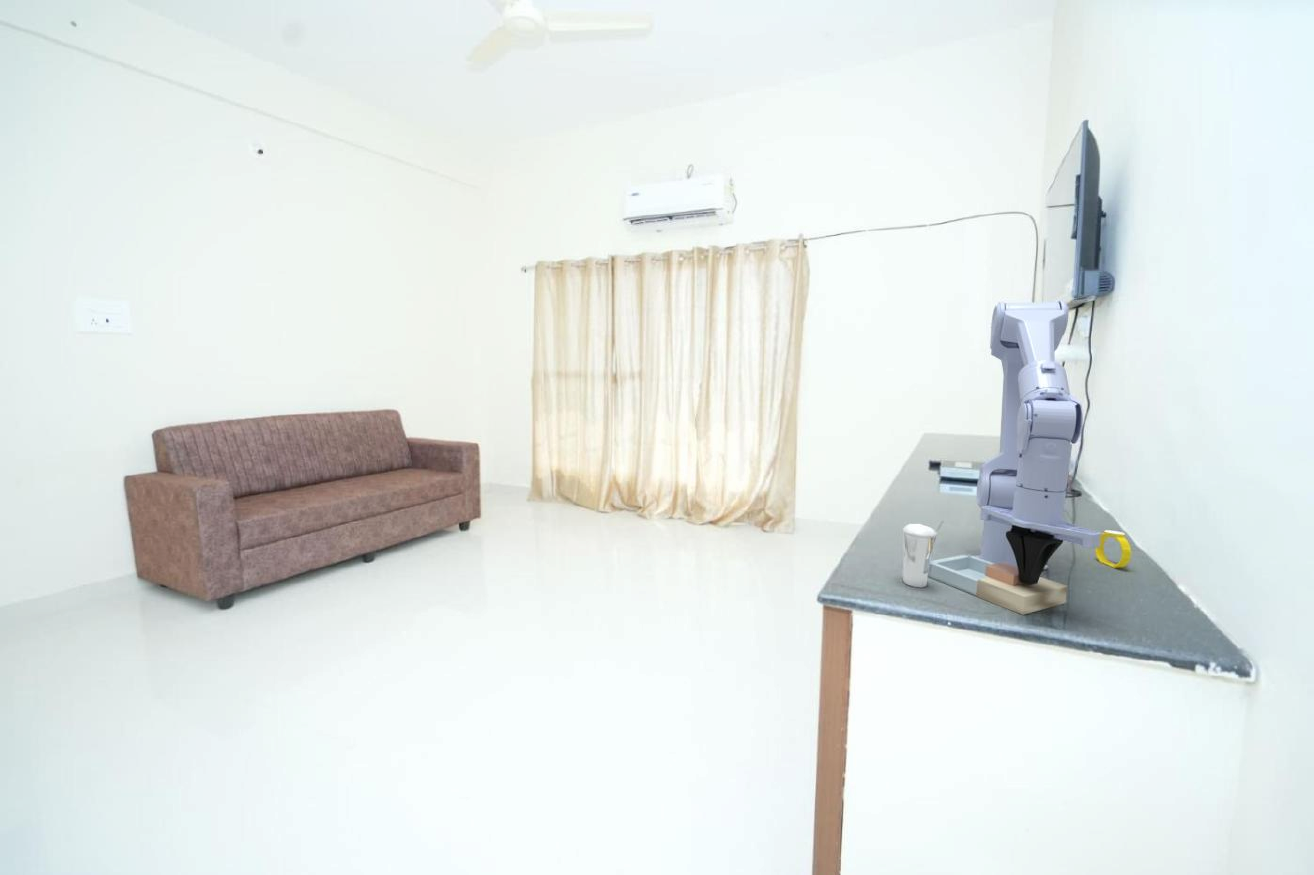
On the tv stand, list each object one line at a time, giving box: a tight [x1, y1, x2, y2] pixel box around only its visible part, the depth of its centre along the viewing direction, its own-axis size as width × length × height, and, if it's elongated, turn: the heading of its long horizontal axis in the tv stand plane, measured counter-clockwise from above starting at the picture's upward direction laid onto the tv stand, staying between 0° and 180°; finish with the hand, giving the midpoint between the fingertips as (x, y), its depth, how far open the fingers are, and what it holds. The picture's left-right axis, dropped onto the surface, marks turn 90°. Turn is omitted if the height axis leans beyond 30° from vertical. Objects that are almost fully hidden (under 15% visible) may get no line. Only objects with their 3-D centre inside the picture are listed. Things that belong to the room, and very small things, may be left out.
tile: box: [985, 562, 1021, 585], centre depth 79 cm, size 4×4×2 cm
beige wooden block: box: [975, 576, 1069, 616], centre depth 78 cm, size 10×6×2 cm, turn 116°
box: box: [928, 554, 995, 597], centre depth 84 cm, size 10×8×2 cm
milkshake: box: [902, 520, 944, 588], centre depth 82 cm, size 5×5×10 cm
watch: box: [1094, 529, 1132, 569], centre depth 93 cm, size 6×3×6 cm, turn 0°
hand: (1028, 582), depth 76 cm, fingers closed
